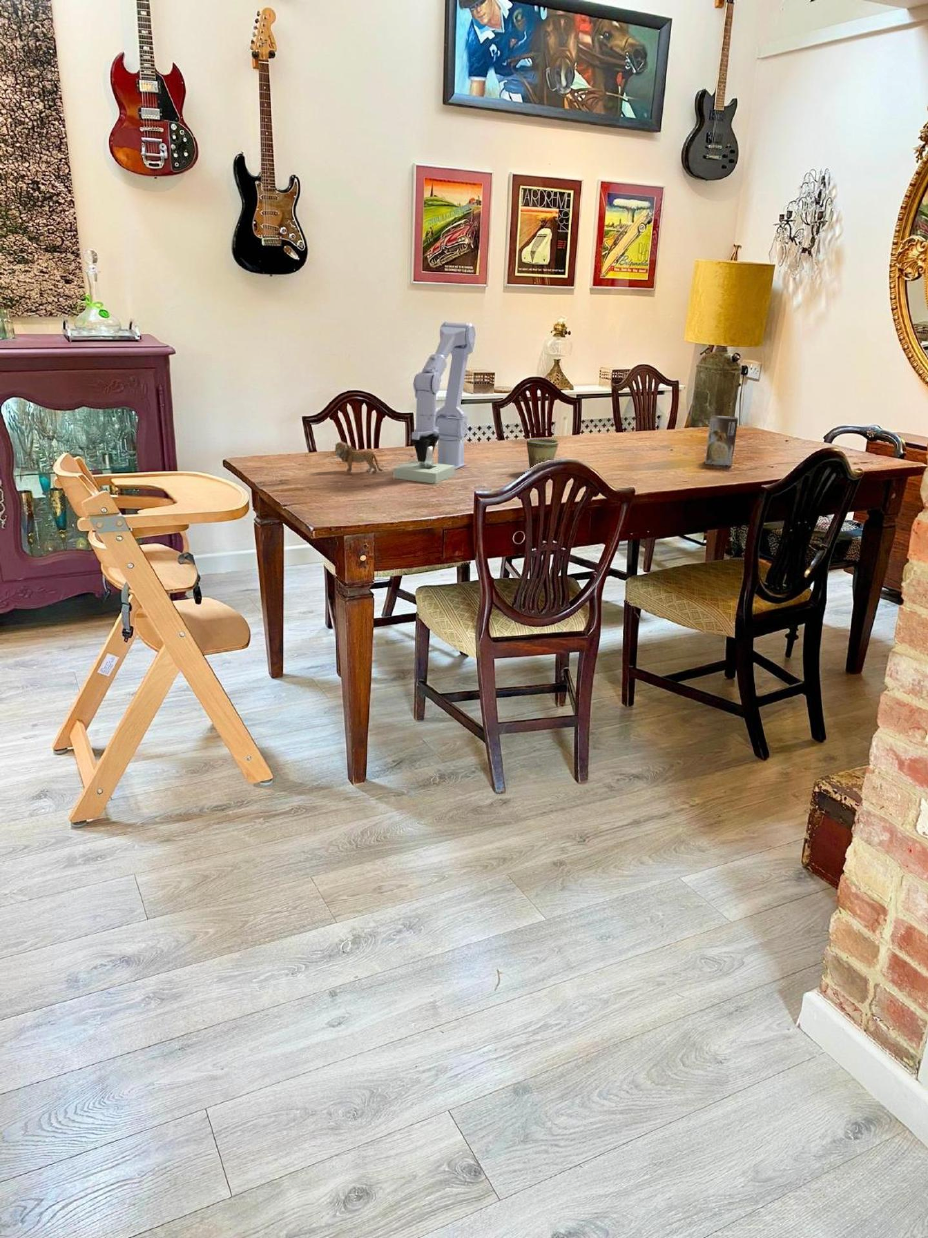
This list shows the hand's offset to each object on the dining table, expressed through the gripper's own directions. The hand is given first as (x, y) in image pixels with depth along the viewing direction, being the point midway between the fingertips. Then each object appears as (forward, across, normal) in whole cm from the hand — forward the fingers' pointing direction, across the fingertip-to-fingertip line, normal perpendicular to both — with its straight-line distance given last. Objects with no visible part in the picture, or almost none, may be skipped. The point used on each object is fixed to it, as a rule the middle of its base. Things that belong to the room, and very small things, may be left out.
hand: (424, 460), depth 263 cm
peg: (+3, 0, 0) cm, 3 cm away
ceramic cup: (+5, +28, -28) cm, 40 cm away
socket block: (+5, 0, 0) cm, 5 cm away
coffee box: (+5, +77, -77) cm, 109 cm away
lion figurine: (+5, -5, +20) cm, 22 cm away
